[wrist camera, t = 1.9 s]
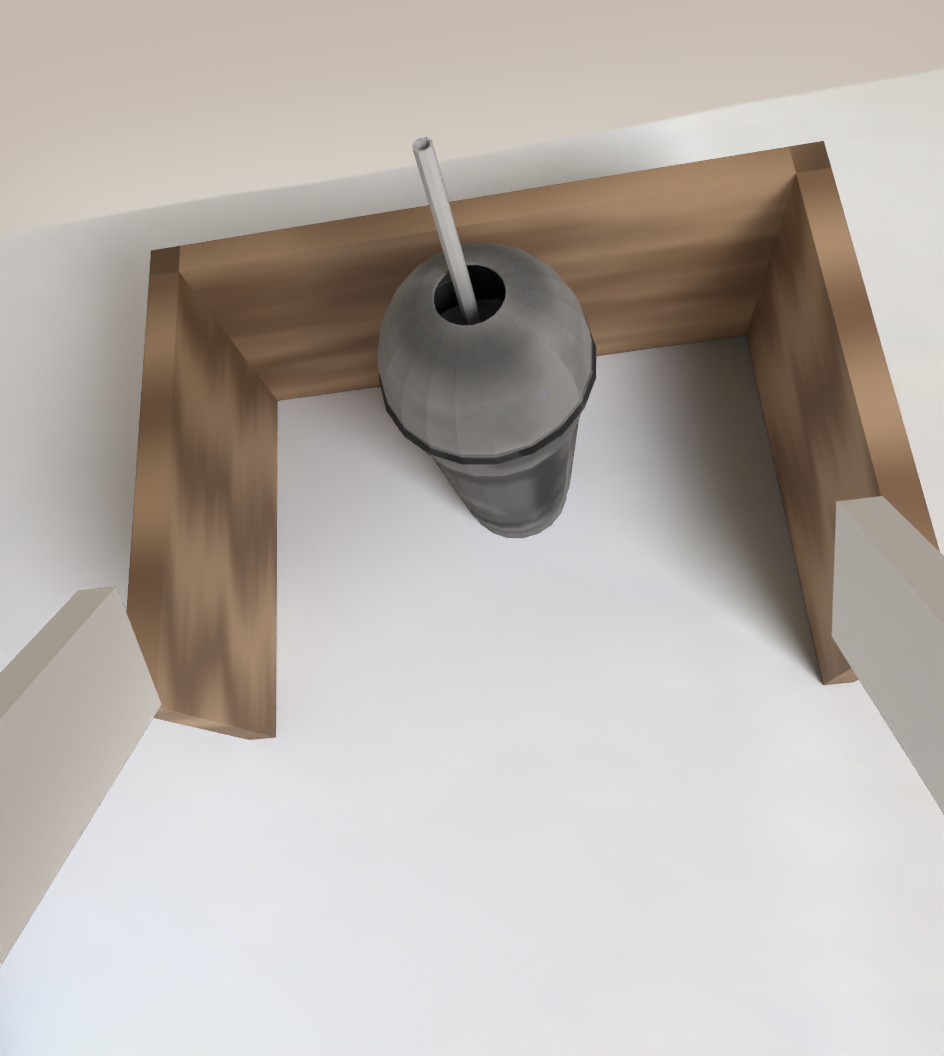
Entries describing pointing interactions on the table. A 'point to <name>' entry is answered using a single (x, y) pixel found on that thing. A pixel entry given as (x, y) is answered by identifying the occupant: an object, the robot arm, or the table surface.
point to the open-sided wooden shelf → (616, 326)
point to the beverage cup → (488, 370)
